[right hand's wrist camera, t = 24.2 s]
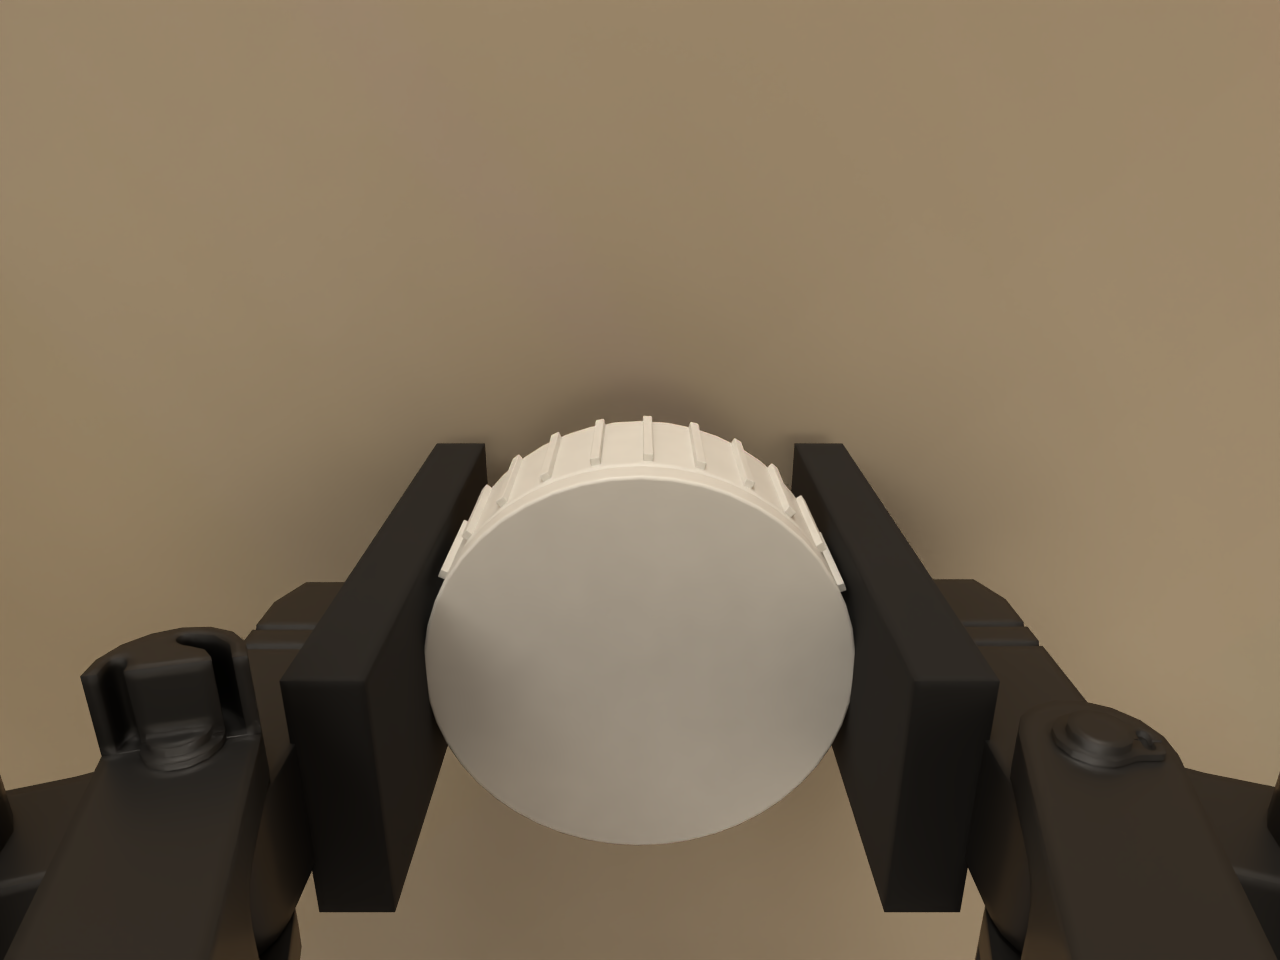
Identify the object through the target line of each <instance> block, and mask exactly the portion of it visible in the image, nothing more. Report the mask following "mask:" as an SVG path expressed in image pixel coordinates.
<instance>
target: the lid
mask: <svg viewBox="0 0 1280 960" xmlns="http://www.w3.org/2000/svg"><path fill="white" fill-rule="evenodd" d="M438 577H440V578H443V579H444V582H443V584H442V586H441V589H440V591H439V593H438V595H437V597H436V600H435V602H434V605H433V609H432V612H431V615H430V619H429V622H428V625H427V632H426V639H425V651H424V652H425V663H426V674H427V683H428V692H429V701H430V704H431V707H432V710H433V713H434V716H435V719H436V722H437V724H438V726H439V728H440V730H441V732H442V734H443V736H444V738H445V740H446V742H447V744H448V746H449V747H450V749H451V750H452V752H453V753H454V755H455V756H456V757H457V759H458V760H459V762H460V763H461V765H462V766H463V767H464V768H465V769H466V770H467V771H468V772H469V774H470V775H471V776H472V777H473V778H474V779H475V780H476V781H477V782H478V783H479V784H480V785H481V786H482V787H483V788H485V789H486V790H487V791H488V792H489V793H490V794H491V795H493V796H494V797H495V798H496V799H498V800H499V801H501V802H502V803H504V804H505V805H506V806H508V807H509V808H511V809H512V810H514V811H515V812H517V813H519V814H521V815H523V816H525V817H527V818H528V819H530V820H532V821H534V822H536V823H538V824H540V825H543V826H545V827H548V828H551V829H553V830H556V831H558V832H561V833H564V834H568V835H571V836H575V837H579V838H582V839H586V840H591V841H598V842H604V843H610V844H623V845H658V844H669V843H676V842H682V841H689V840H693V839H697V838H701V837H705V836H709V835H712V834H716V833H718V832H721V831H724V830H726V829H729V828H732V827H734V826H737V825H739V824H741V823H743V822H745V821H747V820H749V819H751V818H753V817H755V816H757V815H759V814H761V813H762V812H764V811H765V810H767V809H768V808H770V807H772V806H773V805H775V804H776V803H778V802H779V801H781V800H782V799H783V798H784V797H786V796H787V795H788V794H789V793H790V792H791V791H793V790H794V789H795V788H796V787H797V786H799V785H800V784H801V783H802V782H803V781H804V779H805V778H806V777H807V776H808V775H809V774H810V773H811V772H812V771H813V770H814V769H815V768H816V766H817V765H818V764H819V762H820V761H821V760H822V758H823V757H824V755H825V754H826V752H827V751H828V750H829V748H830V747H831V745H832V743H833V741H834V739H835V737H836V735H837V733H838V732H839V730H840V728H841V726H842V723H843V720H844V717H845V715H846V712H847V709H848V706H849V703H850V696H851V687H852V678H853V668H854V657H855V644H854V635H853V628H852V624H851V621H850V617H849V614H848V610H847V606H846V603H845V601H844V599H843V597H842V594H841V592H843V591H846V587H845V584H844V582H843V579H842V577H841V575H840V573H839V571H838V569H837V566H836V564H835V562H834V560H833V558H832V556H831V553H830V551H829V549H828V547H827V545H826V543H825V540H824V538H823V536H822V534H821V532H819V530H818V528H817V526H816V524H815V521H814V519H813V517H812V515H811V513H810V510H809V508H808V506H807V504H806V502H805V500H804V498H803V497H802V496H799V497H797V498H795V496H794V495H793V493H792V492H791V491H790V490H789V489H788V488H787V486H786V485H785V484H784V483H783V480H782V478H781V475H780V473H779V471H778V468H777V467H776V466H775V465H774V464H770V465H769V466H768V467H767V466H765V465H764V464H763V463H762V462H761V461H760V460H758V459H757V458H755V457H754V456H752V455H751V454H749V453H748V452H746V451H745V450H744V449H743V446H742V443H741V441H739V440H737V439H735V438H734V439H733V441H732V442H731V443H730V442H728V441H726V440H724V439H722V438H720V437H718V436H715V435H712V434H709V433H706V432H703V431H700V430H699V425H698V424H697V423H693V422H690V425H689V427H686V426H681V425H676V424H671V423H662V422H652V416H643V421H633V422H615V423H610V424H605V421H604V419H600V420H596V423H595V426H593V427H589V428H586V429H582V430H579V431H576V432H573V433H570V434H567V435H564V436H562V437H561V435H560V433H559V432H557V433H555V434H553V435H551V439H550V442H549V443H547V444H545V445H543V446H541V447H540V448H538V449H537V450H535V451H534V452H532V453H530V454H529V455H527V456H526V457H524V458H522V457H521V456H520V455H517V456H516V457H515V458H513V460H512V462H511V465H510V467H509V470H508V471H507V472H506V473H505V474H504V475H503V476H502V477H501V478H500V479H499V480H498V481H497V483H496V484H495V485H494V486H493V487H492V488H491V487H490V486H489V485H486V486H485V487H484V488H483V489H482V491H481V494H480V496H479V498H478V500H477V503H476V505H475V507H474V509H473V511H472V514H471V516H470V518H469V520H468V521H466V520H464V521H463V523H462V525H461V527H460V529H459V531H458V534H457V536H456V538H455V540H454V542H453V544H452V547H451V549H450V551H449V553H448V555H447V557H446V560H445V562H444V564H443V566H442V568H441V570H440V573H439V575H438Z"/></svg>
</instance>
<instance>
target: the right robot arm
mask: <svg viewBox="0 0 1280 960" xmlns="http://www.w3.org/2000/svg"><path fill="white" fill-rule="evenodd" d="M486 485H488V483H487V469H486V454H485V444H436V446H435V447H434V449H433V450H432V452H431V453H430V455H429V456H428V458H427V459H426V461H425V462H424V464H423V465H422V467H421V468H420V470H419V472H418V473H417V475H416V476H415V478H414V479H413V481H412V482H411V484H410V485H409V487H408V488H407V490H406V491H405V493H404V494H403V496H402V497H401V499H400V500H399V502H398V503H397V505H396V506H395V508H394V509H393V511H392V512H391V514H390V515H389V517H388V518H387V520H386V521H385V523H384V524H383V526H382V527H381V529H380V530H379V532H378V533H377V535H376V536H375V538H374V539H373V541H372V542H371V544H370V545H369V547H368V548H367V550H366V551H365V553H364V554H363V556H362V557H361V559H360V560H359V562H358V563H357V565H356V566H355V568H354V569H353V571H352V572H351V574H350V575H349V577H348V578H347V580H346V581H345V582H306V583H304V584H303V585H301V586H300V587H298V588H296V589H295V590H293V591H292V592H290V593H288V594H287V595H285V596H284V597H282V598H280V599H279V600H277V601H276V602H274V603H273V605H272V606H271V607H270V609H269V610H268V611H267V612H266V614H265V615H264V616H263V617H262V619H261V620H260V621H259V622H258V624H257V625H256V630H252V631H251V633H250V634H249V635H248V636H247V638H246V639H245V640H243V639H241V638H240V637H239V636H238V635H236V634H235V633H234V632H232V631H227V630H222V629H218V628H213V627H189V628H178V629H173V630H168V631H163V632H158V633H153V634H150V635H147V636H144V637H142V638H139V639H136V640H133V641H131V642H128V643H125V644H123V645H120V646H119V647H117V648H115V649H114V650H112V651H110V652H109V653H107V654H105V655H104V656H102V657H100V658H98V659H97V660H96V661H95V662H94V663H93V664H92V665H91V666H90V667H89V668H88V669H87V670H86V671H85V672H84V673H83V674H82V675H81V676H80V677H81V681H82V685H83V689H84V692H85V696H86V700H87V703H88V707H89V711H90V715H91V718H92V722H93V726H94V729H95V733H96V737H97V741H98V744H99V748H100V752H101V755H102V757H101V759H100V761H99V763H98V765H97V767H96V769H95V771H94V772H92V773H88V774H84V775H81V776H77V777H72V778H67V779H62V780H57V781H52V782H47V783H43V784H38V785H33V786H28V787H23V788H18V789H13V790H8V791H5V788H4V785H3V782H2V779H1V776H0V960H300V955H301V939H300V932H299V926H298V920H297V915H296V910H295V907H296V905H297V903H298V901H299V898H300V896H301V894H302V892H303V890H304V887H305V885H306V883H307V881H308V878H309V876H310V874H311V872H313V878H314V883H315V889H316V895H317V901H318V906H319V912H395V911H396V907H397V904H398V901H399V898H400V895H401V892H402V888H403V885H404V882H405V879H406V876H407V873H408V869H409V866H410V863H411V860H412V857H413V854H414V850H415V847H416V844H417V841H418V838H419V835H420V832H421V828H422V825H423V822H424V819H425V816H426V813H427V809H428V806H429V803H430V800H431V797H432V794H433V790H434V787H435V784H436V781H437V778H438V775H439V771H440V768H441V765H442V762H443V759H444V756H445V752H446V749H447V746H448V744H447V742H446V740H445V738H444V736H443V734H442V732H441V730H440V728H439V726H438V724H437V722H436V719H435V716H434V713H433V710H432V707H431V704H430V701H429V692H428V683H427V674H426V663H425V652H424V651H425V639H426V632H427V625H428V622H429V619H430V615H431V612H432V609H433V605H434V602H435V600H436V597H437V595H438V593H439V591H440V589H441V586H442V584H443V582H444V579H443V578H440V577H438V575H439V573H440V570H441V568H442V566H443V564H444V562H445V560H446V557H447V555H448V553H449V551H450V549H451V547H452V544H453V542H454V540H455V538H456V536H457V534H458V531H459V529H460V527H461V525H462V523H463V521H464V520H466V521H468V520H469V518H470V516H471V514H472V511H473V509H474V507H475V505H476V503H477V500H478V498H479V496H480V494H481V491H482V489H483V488H484V487H485V486H486ZM791 492H792V493H793V495H794V496H795V498H797V497H799V496H802V497H803V498H804V500H805V502H806V504H807V506H808V508H809V510H810V513H811V515H812V517H813V519H814V521H815V524H816V526H817V528H818V530H819V532H821V534H822V536H823V538H824V540H825V543H826V545H827V547H828V549H829V551H830V553H831V556H832V558H833V560H834V562H835V564H836V566H837V569H838V571H839V573H840V575H841V577H842V579H843V582H844V584H845V587H846V591H843V592H841V594H842V597H843V599H844V601H845V603H846V606H847V610H848V614H849V617H850V621H851V624H852V628H853V635H854V644H855V657H854V668H853V678H852V687H851V696H850V703H849V706H848V709H847V712H846V715H845V717H844V720H843V723H842V726H841V728H840V730H839V732H838V733H837V735H836V737H835V739H834V741H833V743H832V748H833V751H834V754H835V757H836V760H837V764H838V767H839V770H840V773H841V776H842V779H843V783H844V786H845V789H846V792H847V795H848V798H849V802H850V805H851V808H852V811H853V814H854V817H855V821H856V824H857V827H858V830H859V833H860V836H861V840H862V843H863V846H864V849H865V852H866V855H867V859H868V862H869V865H870V868H871V871H872V874H873V878H874V881H875V884H876V887H877V890H878V893H879V897H880V900H881V903H882V906H883V909H884V912H960V909H961V903H962V897H963V892H964V886H965V880H966V874H967V869H968V868H969V871H970V873H971V875H972V877H973V880H974V882H975V884H976V886H977V888H978V891H979V893H980V895H981V897H982V900H983V902H984V904H985V910H984V915H983V920H982V926H981V931H980V936H979V942H978V947H977V952H976V958H975V960H1280V773H1279V776H1278V780H1277V783H1276V786H1275V787H1272V786H1267V785H1262V784H1257V783H1252V782H1247V781H1242V780H1237V779H1232V778H1227V777H1222V776H1217V775H1212V774H1207V773H1203V772H1199V771H1195V770H1191V769H1188V768H1184V766H1183V763H1182V761H1181V759H1180V757H1179V755H1178V754H1177V753H1176V751H1175V750H1174V749H1173V748H1172V746H1171V745H1170V744H1169V743H1168V741H1167V740H1166V739H1165V738H1164V737H1163V736H1162V735H1161V734H1159V733H1158V732H1156V731H1155V730H1153V729H1152V728H1151V727H1149V726H1148V725H1146V724H1145V723H1143V722H1142V721H1140V720H1138V719H1136V718H1134V717H1131V716H1129V715H1127V714H1124V713H1122V712H1120V711H1117V710H1115V709H1113V708H1109V707H1105V706H1101V705H1096V704H1092V703H1088V702H1087V701H1086V700H1085V699H1084V698H1083V696H1082V695H1081V694H1080V692H1079V691H1078V690H1077V689H1076V687H1075V686H1074V685H1073V684H1072V682H1071V681H1070V680H1069V679H1068V677H1067V676H1066V675H1065V674H1064V672H1063V671H1062V670H1061V669H1060V667H1059V666H1058V665H1057V664H1056V662H1055V661H1054V660H1053V658H1052V657H1051V656H1050V655H1049V653H1048V652H1047V651H1046V650H1045V648H1044V647H1043V646H1039V641H1038V640H1037V638H1036V637H1035V636H1034V635H1033V633H1032V632H1031V631H1030V630H1029V628H1028V627H1024V622H1023V621H1022V619H1021V618H1020V617H1019V616H1018V614H1017V613H1016V612H1015V611H1014V609H1013V608H1012V607H1011V606H1010V604H1009V603H1008V602H1007V601H1006V599H1004V598H1003V597H1001V596H1000V595H998V594H996V593H995V592H993V591H991V590H990V589H988V588H987V587H985V586H983V585H982V584H980V583H979V582H977V581H975V580H974V579H932V578H931V576H930V575H929V573H928V572H927V570H926V569H925V567H924V566H923V564H922V563H921V561H920V560H919V558H918V557H917V555H916V554H915V552H914V551H913V549H912V548H911V546H910V545H909V543H908V542H907V540H906V539H905V537H904V536H903V534H902V533H901V531H900V530H899V528H898V527H897V525H896V524H895V522H894V521H893V519H892V518H891V516H890V515H889V513H888V512H887V510H886V508H885V507H884V505H883V504H882V502H881V501H880V499H879V498H878V496H877V495H876V493H875V492H874V490H873V489H872V487H871V486H870V484H869V483H868V481H867V480H866V478H865V477H864V475H863V474H862V472H861V471H860V469H859V468H858V466H857V465H856V463H855V462H854V460H853V459H852V457H851V456H850V454H849V453H848V451H847V450H846V448H845V447H844V445H843V444H795V445H794V460H793V475H792V490H791Z"/></svg>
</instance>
